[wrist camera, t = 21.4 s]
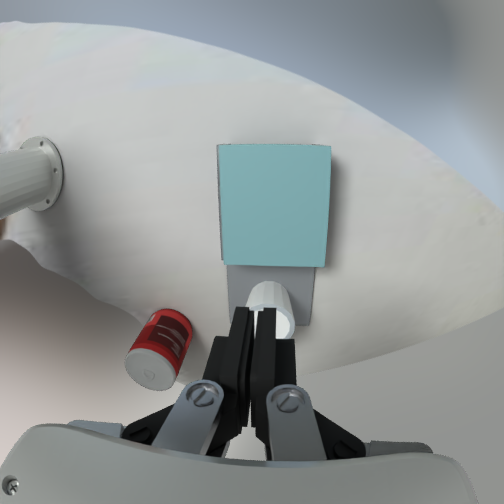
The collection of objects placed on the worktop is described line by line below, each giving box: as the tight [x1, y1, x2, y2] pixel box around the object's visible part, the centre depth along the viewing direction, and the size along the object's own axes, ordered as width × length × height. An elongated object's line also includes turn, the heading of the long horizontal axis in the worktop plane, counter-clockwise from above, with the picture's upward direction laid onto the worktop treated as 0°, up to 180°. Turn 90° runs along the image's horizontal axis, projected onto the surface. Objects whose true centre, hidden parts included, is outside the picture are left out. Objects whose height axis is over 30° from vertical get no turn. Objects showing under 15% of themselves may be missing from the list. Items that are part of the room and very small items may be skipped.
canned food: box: [125, 309, 192, 391], centre depth 41 cm, size 8×8×11 cm
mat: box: [227, 265, 315, 326], centre depth 42 cm, size 12×10×1 cm
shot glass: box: [245, 281, 295, 339], centre depth 39 cm, size 7×7×7 cm
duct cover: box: [219, 144, 331, 267], centre depth 33 cm, size 12×14×1 cm
